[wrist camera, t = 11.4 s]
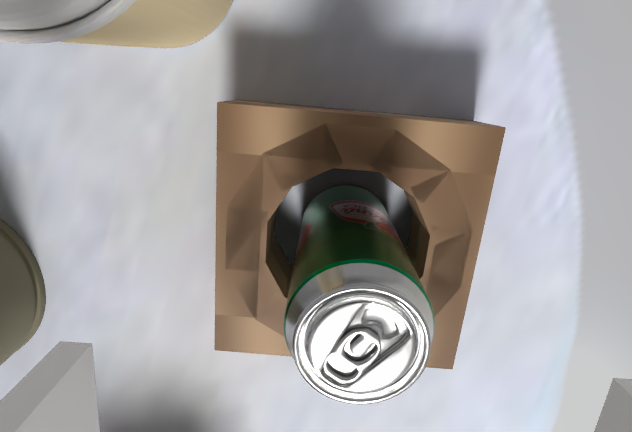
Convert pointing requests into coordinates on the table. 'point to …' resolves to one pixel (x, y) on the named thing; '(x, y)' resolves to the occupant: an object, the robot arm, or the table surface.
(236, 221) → the square wooden ring holder
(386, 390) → the soda can
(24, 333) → the can
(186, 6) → the coffee cup
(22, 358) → the table surface
